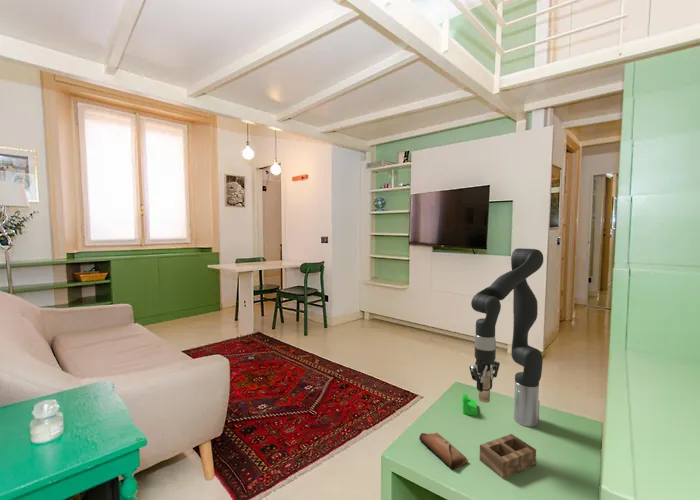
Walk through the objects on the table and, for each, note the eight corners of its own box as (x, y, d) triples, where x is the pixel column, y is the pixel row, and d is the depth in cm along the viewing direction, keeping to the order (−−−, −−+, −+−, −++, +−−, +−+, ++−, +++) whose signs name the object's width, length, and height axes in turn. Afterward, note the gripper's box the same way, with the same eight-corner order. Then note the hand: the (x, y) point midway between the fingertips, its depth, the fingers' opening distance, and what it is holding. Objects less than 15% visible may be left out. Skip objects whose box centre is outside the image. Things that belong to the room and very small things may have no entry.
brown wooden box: (511, 449, 125) (511, 433, 124) (535, 466, 115) (536, 449, 115) (479, 461, 118) (479, 444, 118) (502, 480, 109) (503, 462, 109)
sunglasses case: (470, 459, 116) (461, 449, 114) (458, 476, 114) (449, 466, 112) (435, 431, 133) (427, 422, 130) (424, 446, 130) (416, 436, 128)
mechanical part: (477, 416, 147) (477, 399, 146) (463, 414, 149) (463, 397, 148) (475, 403, 158) (475, 386, 158) (462, 401, 160) (462, 385, 160)
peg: (484, 396, 131) (484, 367, 130) (492, 401, 127) (492, 371, 127) (476, 398, 129) (476, 369, 129) (484, 403, 126) (484, 373, 125)
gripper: (490, 340, 134) (490, 382, 135) (463, 346, 128) (463, 389, 129) (506, 346, 127) (505, 390, 128) (478, 352, 121) (478, 397, 122)
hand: (484, 389), depth 128 cm, fingers closed on peg, 4 cm apart
